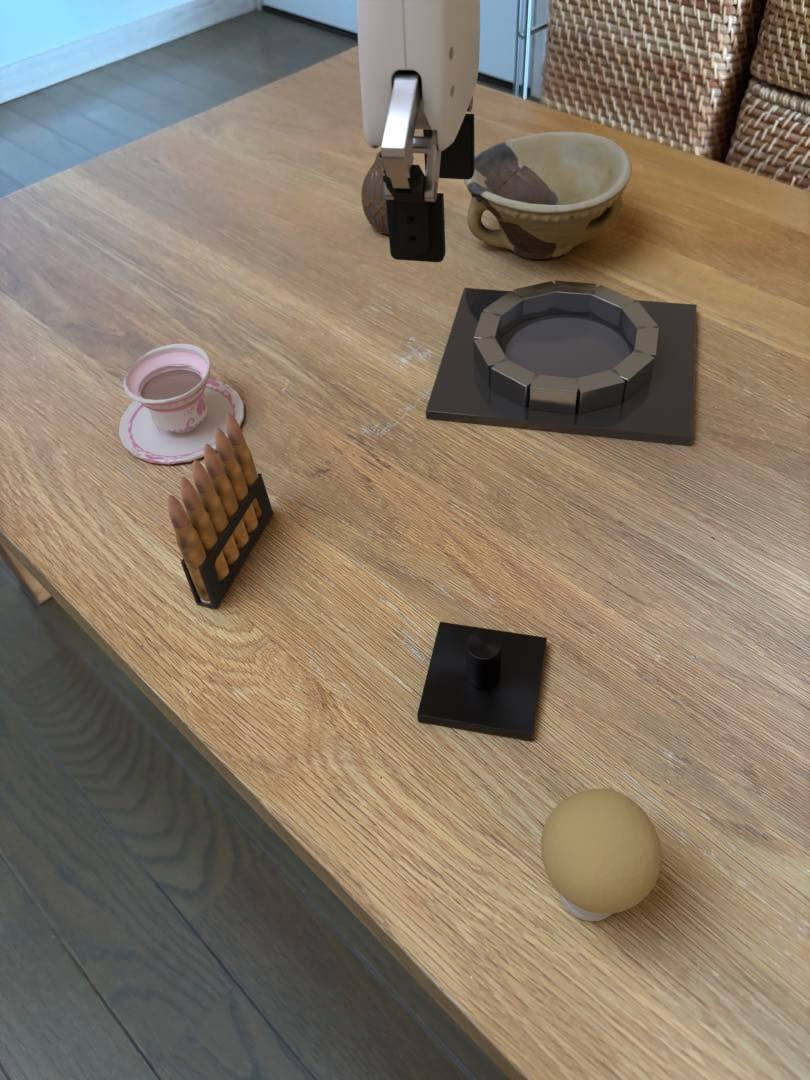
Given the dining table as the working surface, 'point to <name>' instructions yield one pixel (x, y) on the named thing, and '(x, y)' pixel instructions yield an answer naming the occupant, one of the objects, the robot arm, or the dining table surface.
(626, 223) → the dining table surface
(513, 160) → the bowl
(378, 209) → the vase
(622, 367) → the steel ring
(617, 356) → the hob plate
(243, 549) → the ammunition clip
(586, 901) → the light bulb
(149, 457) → the teacup
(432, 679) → the ring stand
